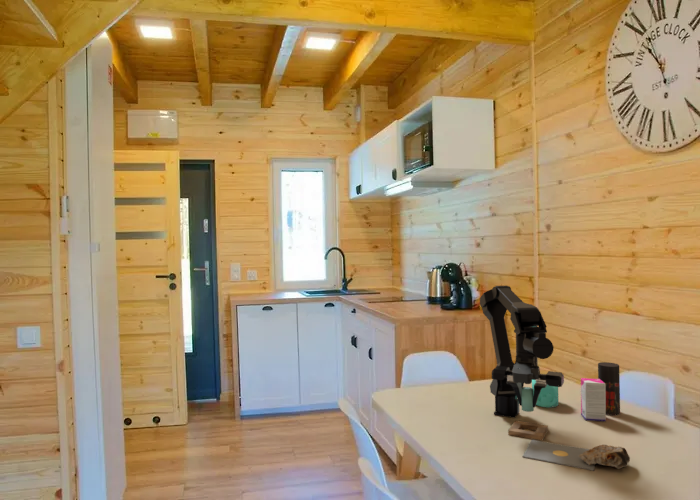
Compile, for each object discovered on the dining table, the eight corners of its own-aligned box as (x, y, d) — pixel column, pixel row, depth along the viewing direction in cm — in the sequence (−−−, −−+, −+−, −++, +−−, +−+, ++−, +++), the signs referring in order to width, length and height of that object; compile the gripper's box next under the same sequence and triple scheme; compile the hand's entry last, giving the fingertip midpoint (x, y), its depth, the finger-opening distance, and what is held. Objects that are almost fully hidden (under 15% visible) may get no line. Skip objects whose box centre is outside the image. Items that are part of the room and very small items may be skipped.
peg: (520, 410, 139) (520, 389, 139) (522, 407, 142) (522, 386, 142) (532, 412, 137) (532, 390, 137) (534, 409, 140) (534, 388, 140)
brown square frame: (508, 434, 138) (508, 430, 138) (515, 424, 146) (515, 420, 146) (542, 440, 133) (542, 435, 133) (547, 429, 141) (547, 425, 141)
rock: (629, 462, 119) (585, 443, 125) (635, 442, 117) (590, 424, 123) (622, 484, 112) (576, 463, 118) (627, 463, 111) (580, 443, 116)
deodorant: (594, 409, 157) (594, 362, 157) (612, 408, 158) (611, 362, 158) (606, 415, 152) (605, 367, 152) (624, 414, 152) (623, 366, 152)
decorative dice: (532, 399, 170) (532, 376, 170) (557, 401, 167) (557, 377, 167) (532, 406, 162) (531, 382, 162) (558, 408, 159) (558, 383, 159)
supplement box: (606, 421, 146) (605, 383, 146) (585, 420, 148) (584, 382, 148) (600, 415, 152) (600, 378, 152) (580, 414, 153) (579, 377, 153)
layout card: (522, 457, 123) (522, 455, 123) (531, 440, 133) (531, 439, 133) (593, 470, 115) (593, 469, 115) (597, 451, 125) (597, 450, 125)
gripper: (485, 353, 137) (487, 409, 137) (558, 360, 128) (559, 420, 128) (496, 346, 147) (497, 398, 147) (563, 352, 137) (564, 408, 137)
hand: (527, 406), depth 140 cm, fingers closed on peg, 3 cm apart
